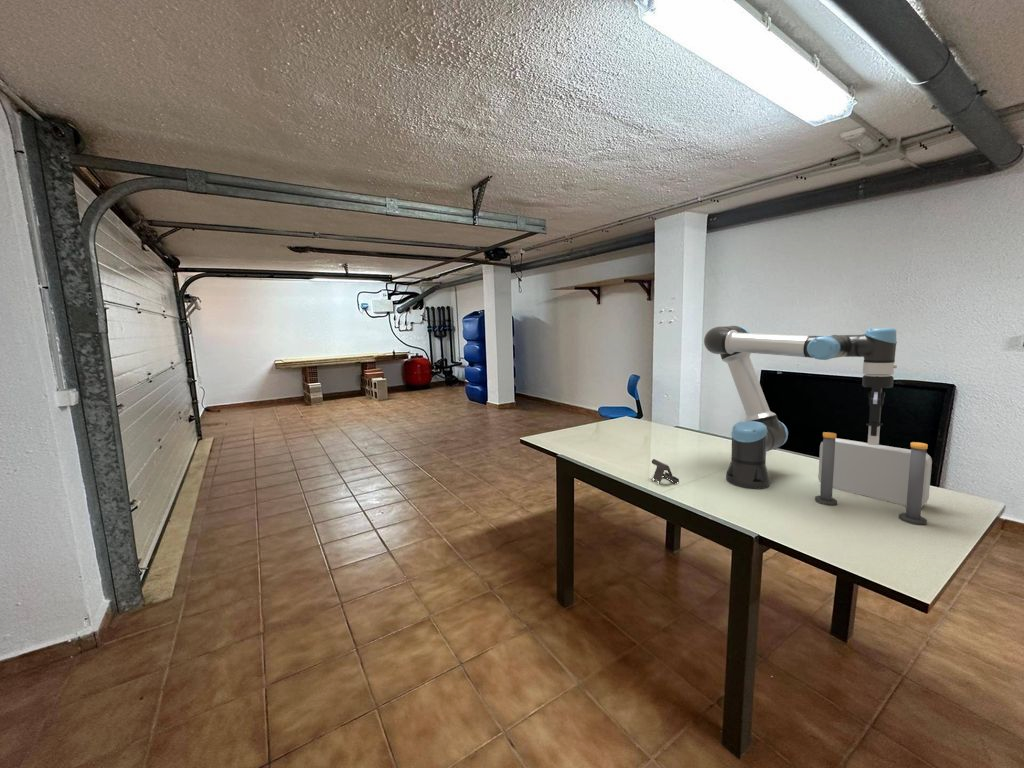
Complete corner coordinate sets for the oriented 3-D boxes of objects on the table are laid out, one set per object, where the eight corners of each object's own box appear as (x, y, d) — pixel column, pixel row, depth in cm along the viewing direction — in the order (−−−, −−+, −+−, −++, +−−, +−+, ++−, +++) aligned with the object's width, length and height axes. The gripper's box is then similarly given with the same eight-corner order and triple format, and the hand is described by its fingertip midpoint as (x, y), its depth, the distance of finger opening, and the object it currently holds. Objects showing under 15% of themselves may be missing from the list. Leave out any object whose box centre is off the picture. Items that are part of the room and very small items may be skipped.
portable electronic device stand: (679, 484, 156) (679, 463, 156) (661, 486, 155) (662, 466, 154) (665, 476, 165) (665, 457, 164) (649, 479, 163) (649, 459, 162)
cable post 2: (898, 520, 120) (904, 444, 117) (899, 514, 125) (905, 440, 122) (926, 527, 116) (934, 447, 113) (926, 519, 120) (933, 443, 117)
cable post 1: (813, 502, 135) (816, 434, 132) (816, 496, 140) (819, 430, 137) (835, 507, 131) (839, 436, 128) (838, 501, 135) (842, 433, 132)
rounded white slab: (929, 504, 131) (934, 451, 129) (923, 510, 127) (928, 456, 124) (825, 480, 155) (828, 435, 152) (817, 484, 150) (820, 438, 148)
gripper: (892, 377, 122) (887, 451, 125) (894, 373, 131) (889, 442, 134) (860, 376, 128) (856, 447, 131) (864, 372, 137) (860, 438, 140)
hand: (873, 444), depth 132 cm, fingers closed
